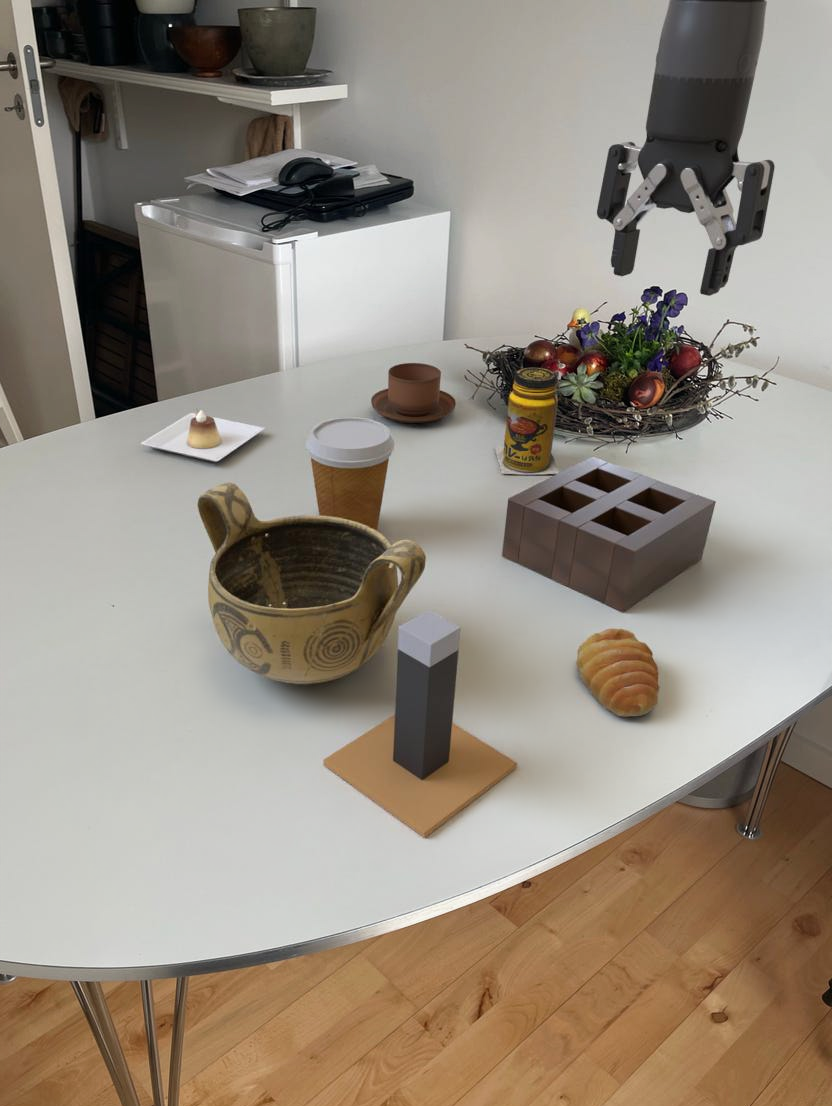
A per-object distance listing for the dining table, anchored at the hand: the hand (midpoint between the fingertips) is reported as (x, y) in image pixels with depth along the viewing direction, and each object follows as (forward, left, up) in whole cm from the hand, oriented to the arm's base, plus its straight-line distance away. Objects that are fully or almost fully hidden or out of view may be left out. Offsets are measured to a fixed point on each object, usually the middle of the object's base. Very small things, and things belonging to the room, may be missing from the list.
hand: (664, 283), depth 85 cm
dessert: (+57, +10, -30) cm, 65 cm away
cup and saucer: (+45, -18, -30) cm, 57 cm away
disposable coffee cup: (+26, +13, -30) cm, 42 cm away
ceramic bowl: (+11, +33, -30) cm, 46 cm away
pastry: (-11, +15, -30) cm, 36 cm away
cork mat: (-6, +36, -30) cm, 47 cm away
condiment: (+24, -17, -30) cm, 42 cm away
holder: (+3, -3, -30) cm, 30 cm away
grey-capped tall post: (-6, +36, -30) cm, 47 cm away
